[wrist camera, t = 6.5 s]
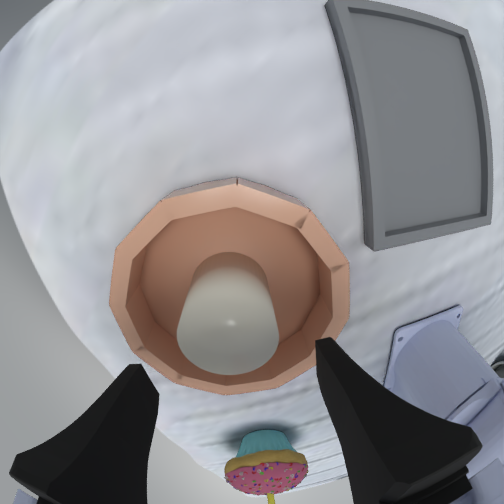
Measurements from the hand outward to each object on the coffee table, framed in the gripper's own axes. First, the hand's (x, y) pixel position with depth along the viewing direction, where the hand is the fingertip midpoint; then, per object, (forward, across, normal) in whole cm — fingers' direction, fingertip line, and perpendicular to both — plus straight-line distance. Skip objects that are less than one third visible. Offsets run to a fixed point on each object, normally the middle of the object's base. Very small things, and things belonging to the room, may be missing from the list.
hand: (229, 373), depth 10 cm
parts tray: (+8, -15, -9) cm, 19 cm away
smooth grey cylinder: (+7, 0, 0) cm, 7 cm away
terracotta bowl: (+8, 0, 0) cm, 8 cm away
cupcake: (+8, +1, +20) cm, 21 cm away
